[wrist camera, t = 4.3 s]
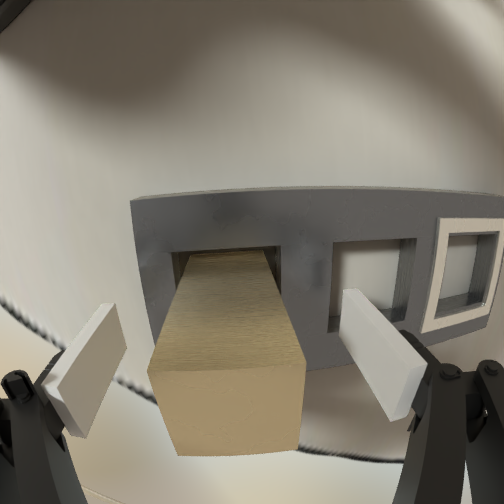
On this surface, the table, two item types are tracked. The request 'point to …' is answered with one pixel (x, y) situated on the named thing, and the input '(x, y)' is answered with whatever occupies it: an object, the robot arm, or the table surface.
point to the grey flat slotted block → (329, 252)
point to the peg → (229, 360)
